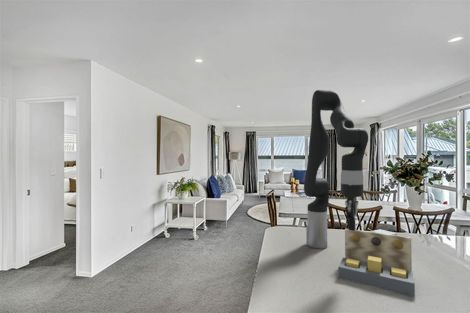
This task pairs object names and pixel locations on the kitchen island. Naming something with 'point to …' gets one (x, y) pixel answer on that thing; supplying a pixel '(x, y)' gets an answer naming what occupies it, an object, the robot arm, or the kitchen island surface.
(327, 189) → the robot arm
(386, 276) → the board
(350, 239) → the card
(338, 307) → the kitchen island surface
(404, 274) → the button right
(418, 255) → the kitchen island surface
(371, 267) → the button mid
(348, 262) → the button left
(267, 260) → the kitchen island surface
